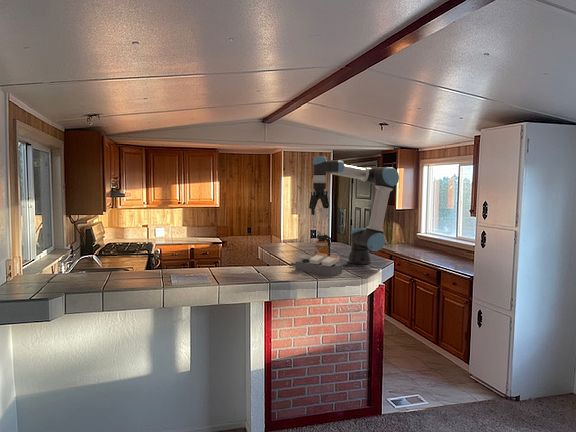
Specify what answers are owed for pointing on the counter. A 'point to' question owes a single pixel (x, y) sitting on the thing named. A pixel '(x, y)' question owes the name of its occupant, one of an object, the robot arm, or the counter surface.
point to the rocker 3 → (330, 260)
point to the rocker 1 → (305, 256)
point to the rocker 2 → (318, 258)
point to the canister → (323, 245)
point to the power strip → (317, 267)
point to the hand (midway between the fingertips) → (319, 219)
